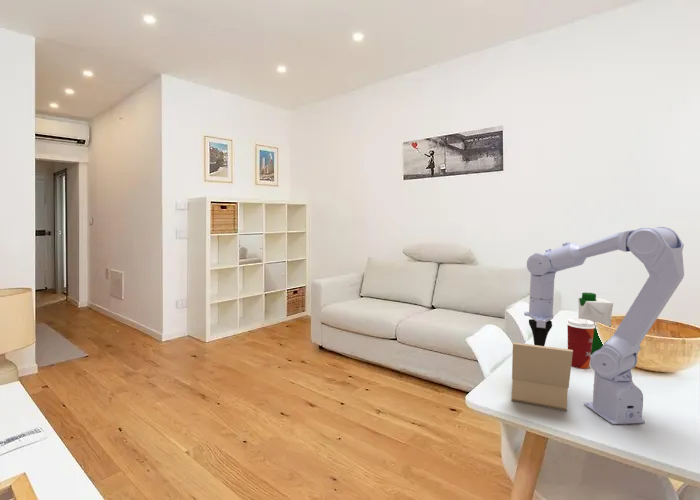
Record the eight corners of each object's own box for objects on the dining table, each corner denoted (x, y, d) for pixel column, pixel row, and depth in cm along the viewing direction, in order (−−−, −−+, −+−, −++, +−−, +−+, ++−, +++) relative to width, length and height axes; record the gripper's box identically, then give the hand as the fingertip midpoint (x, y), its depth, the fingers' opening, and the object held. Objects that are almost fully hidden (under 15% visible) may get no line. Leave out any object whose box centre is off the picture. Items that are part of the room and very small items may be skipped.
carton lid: (512, 342, 91) (512, 343, 91) (572, 349, 86) (572, 351, 86) (512, 377, 96) (511, 378, 96) (568, 386, 91) (568, 388, 91)
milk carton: (573, 346, 137) (576, 290, 136) (600, 348, 136) (604, 291, 134) (583, 355, 129) (587, 296, 127) (613, 357, 127) (617, 297, 125)
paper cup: (597, 371, 116) (600, 325, 114) (569, 369, 117) (571, 323, 116) (587, 361, 123) (589, 318, 122) (560, 359, 125) (562, 317, 124)
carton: (513, 383, 107) (514, 362, 106) (563, 392, 102) (564, 369, 101) (511, 400, 97) (512, 377, 96) (566, 411, 92) (567, 386, 91)
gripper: (525, 291, 112) (523, 337, 114) (524, 301, 99) (522, 353, 101) (552, 293, 110) (550, 341, 111) (555, 304, 96) (553, 357, 98)
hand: (539, 347), depth 105 cm, fingers closed
